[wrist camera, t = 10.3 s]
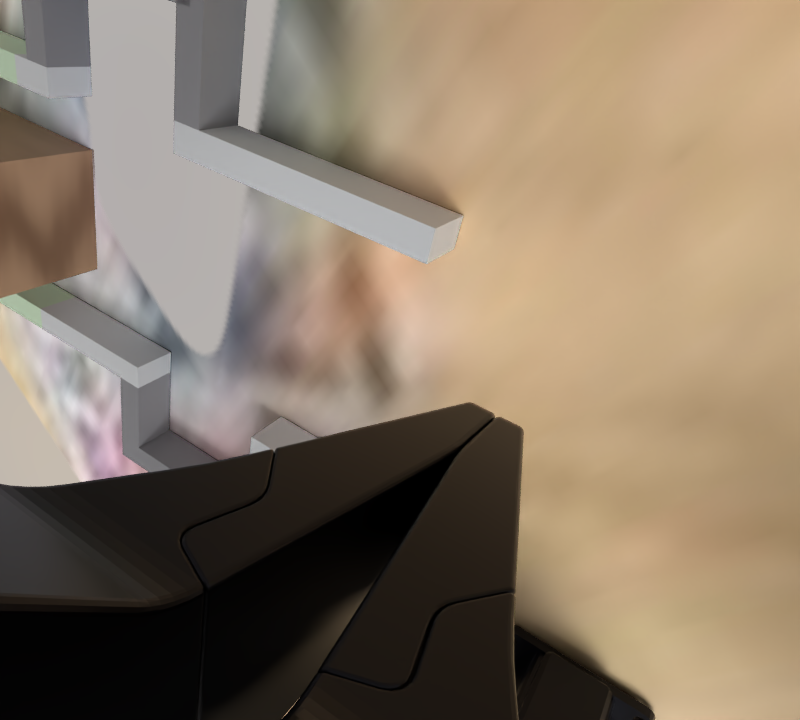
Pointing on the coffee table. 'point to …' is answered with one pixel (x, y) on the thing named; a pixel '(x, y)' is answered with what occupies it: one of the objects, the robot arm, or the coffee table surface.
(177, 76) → the trap pockets
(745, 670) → the coffee table surface
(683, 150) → the coffee table surface
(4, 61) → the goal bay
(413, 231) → the lane
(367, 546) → the robot arm
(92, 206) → the walnut block
